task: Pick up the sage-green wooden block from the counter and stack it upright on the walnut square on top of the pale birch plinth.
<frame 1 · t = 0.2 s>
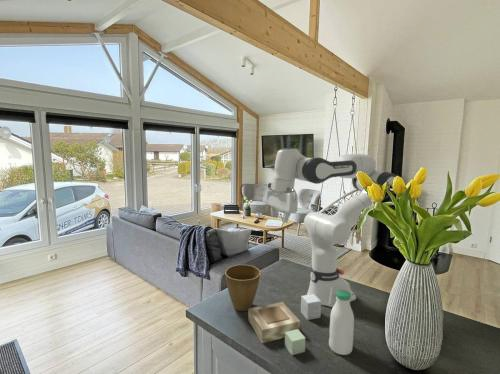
hand: (279, 219, 113), 39 cm above the worktop, tool pointing down, fingers open, 8 cm apart
milk bottle: (340, 348, 93), on the worktop
plant pot: (242, 307, 117), on the worktop
sage block: (294, 348, 93), on the worktop
product box: (310, 315, 112), on the worktop
birch plinth: (273, 326, 104), on the worktop
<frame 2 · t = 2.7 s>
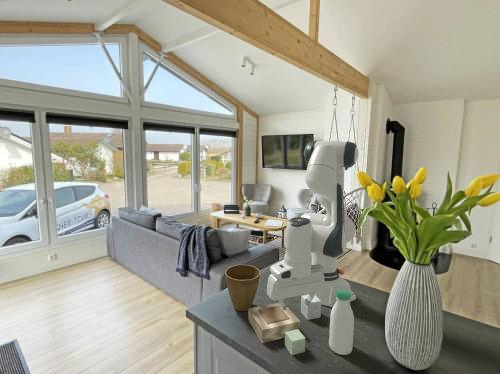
hand: (295, 307, 91), 15 cm above the worktop, tool pointing down, fingers open, 8 cm apart
nothing on the worktop moved.
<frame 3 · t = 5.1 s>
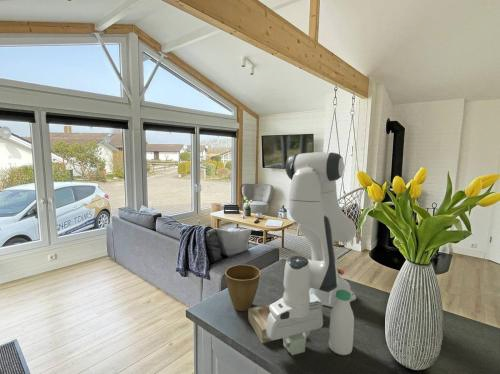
hand: (294, 343, 92), 2 cm above the worktop, tool pointing down, fingers closed on sage block, 5 cm apart
sage block: (294, 348, 93), on the worktop, touching gripper
everything else where it was.
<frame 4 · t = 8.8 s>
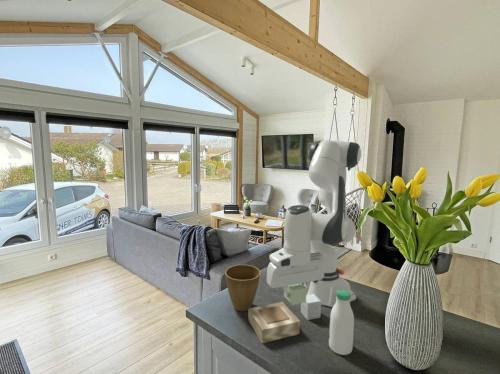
hand: (295, 295, 91), 19 cm above the worktop, tool pointing down, fingers closed on sage block, 5 cm apart
sage block: (295, 299, 91), point 17 cm above the worktop, touching gripper
everything else where it was.
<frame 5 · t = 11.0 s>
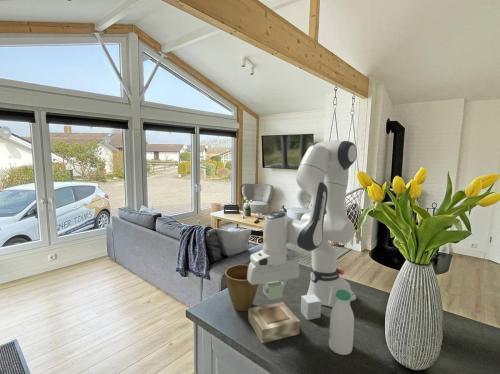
hand: (273, 291, 102), 14 cm above the worktop, tool pointing down, fingers closed on sage block, 5 cm apart
sage block: (273, 295, 102), point 13 cm above the worktop, touching gripper
everything else where it was.
when the fingers open (8 cm above the worktop, at t = 12.9 s): sage block drops 1 cm, resting on birch plinth.
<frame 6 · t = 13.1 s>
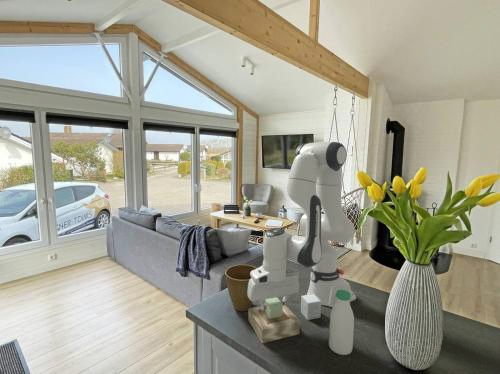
hand: (273, 307, 103), 8 cm above the worktop, tool pointing down, fingers open, 7 cm apart
sage block: (273, 313, 103), point 5 cm above the worktop, touching birch plinth
everything else where it was.
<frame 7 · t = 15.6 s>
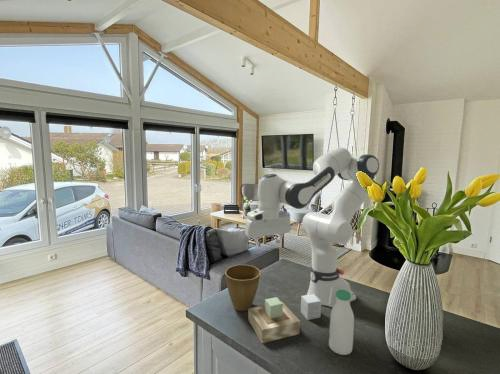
hand: (268, 244, 115), 27 cm above the worktop, tool pointing down, fingers open, 8 cm apart
nothing on the worktop moved.
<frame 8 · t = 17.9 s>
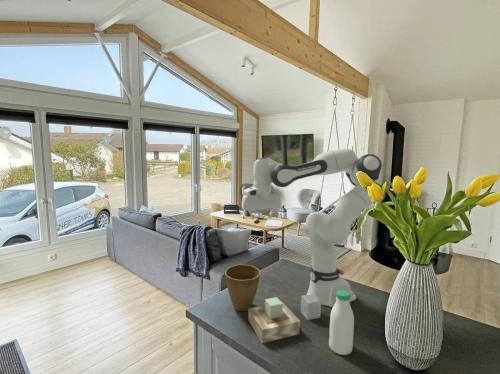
hand: (261, 218, 135), 34 cm above the worktop, tool pointing down, fingers open, 8 cm apart
nothing on the worktop moved.
at the end: sage block inside the target area on the birch plinth (0.1 cm from its centre), point 5.3 cm above the birch plinth's base; sage block tilted 0°; the gripper is holding nothing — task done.
